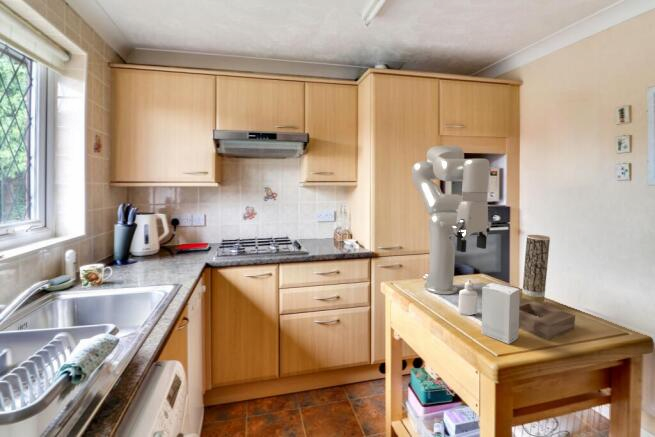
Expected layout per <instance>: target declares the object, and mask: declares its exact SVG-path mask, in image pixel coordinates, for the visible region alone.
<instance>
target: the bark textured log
mask: <svg viewBox="0 0 655 437" xmlns="http://www.w3.org/2000/svg"><path fill="white" fill-rule="evenodd" d="M550 241H551V237H550V236H548V235H540V234H526V242H525V253H524V264H523V265H524V267H523V277H522V278H523V279H522V291H521V298H525V299H528V300H531V301H534V302H537V303H540V304H543V305H545V296H546V285H547V274H548V263H549V251H550V243H551V242H550Z"/></svg>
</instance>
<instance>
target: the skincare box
mask: <svg viewBox="0 0 655 437" xmlns="http://www.w3.org/2000/svg"><path fill="white" fill-rule="evenodd" d="M520 290H521V289H519V288H517V287H512V286H508V285H503V284H499V283H496V282H490V283H488V284H486V285H483V286H482V293H481V296H482V297H481V303H482V304H481V335H484V336H487V337H490V338H492V339H494V340H497V341H500V342H503V343H505V344H507V345H510V344H512V343H513V342H515V341H516V340H518V339H519V333H520V332H519V330H520V329H519V299H520V298H521V297H520Z"/></svg>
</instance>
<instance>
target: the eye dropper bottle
mask: <svg viewBox="0 0 655 437" xmlns="http://www.w3.org/2000/svg"><path fill="white" fill-rule="evenodd" d="M473 287H474V283H472V282H471V279H470V278H468V279H467V282H464V288H463V289H461V290H459V294H458V307H457V311H458V313H459V315H461V316H463V315H464V316H468V315H467V314H469V313H476V314H477V312H478V296H479V295H478V292H477V291H476V290H473V289H474V288H473Z"/></svg>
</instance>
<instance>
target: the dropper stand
mask: <svg viewBox="0 0 655 437" xmlns="http://www.w3.org/2000/svg"><path fill="white" fill-rule="evenodd" d="M537 316H538V317H537ZM575 322H576V314H573V313H569V312H567V311H563V310H561V309H557V308H555V307H552V306H549V305H547V304H544V305H543V304H540V303H537V302H534V301H531V300H528V299H525V298H522V297H520V298H519V330H522V331H525V332H527V333H529V334H532V335H534V336H536V337H539V338H542V339H544V340H546V341H549V340H552V339H554V338H557V337H559V336H561V335H564V334H566V333H568V332H571V331H573V330H575V325H576V324H575Z"/></svg>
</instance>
